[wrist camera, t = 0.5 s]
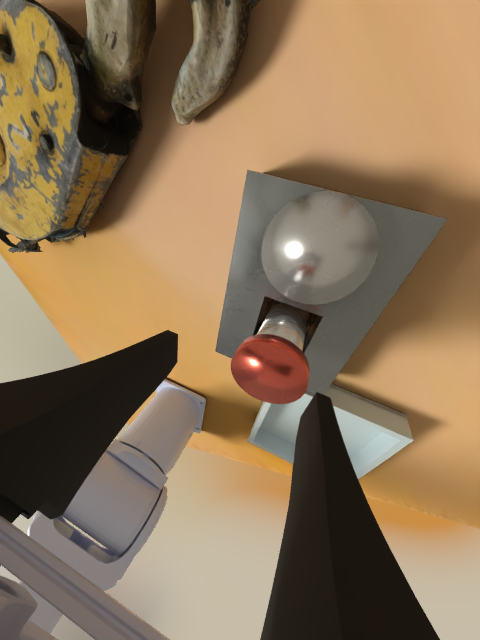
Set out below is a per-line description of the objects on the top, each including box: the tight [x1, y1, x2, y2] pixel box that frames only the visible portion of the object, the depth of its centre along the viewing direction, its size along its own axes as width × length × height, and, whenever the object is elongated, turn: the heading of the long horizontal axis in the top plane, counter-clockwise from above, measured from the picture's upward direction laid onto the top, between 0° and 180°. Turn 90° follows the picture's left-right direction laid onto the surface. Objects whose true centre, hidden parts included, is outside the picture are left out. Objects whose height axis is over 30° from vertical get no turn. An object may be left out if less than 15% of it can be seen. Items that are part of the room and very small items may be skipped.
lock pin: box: [231, 300, 310, 404], centre depth 15 cm, size 4×4×8 cm
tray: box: [247, 384, 414, 479], centre depth 23 cm, size 12×12×2 cm
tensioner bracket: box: [216, 170, 447, 395], centre depth 16 cm, size 14×10×4 cm
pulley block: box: [0, 0, 260, 253], centre depth 15 cm, size 14×6×30 cm
